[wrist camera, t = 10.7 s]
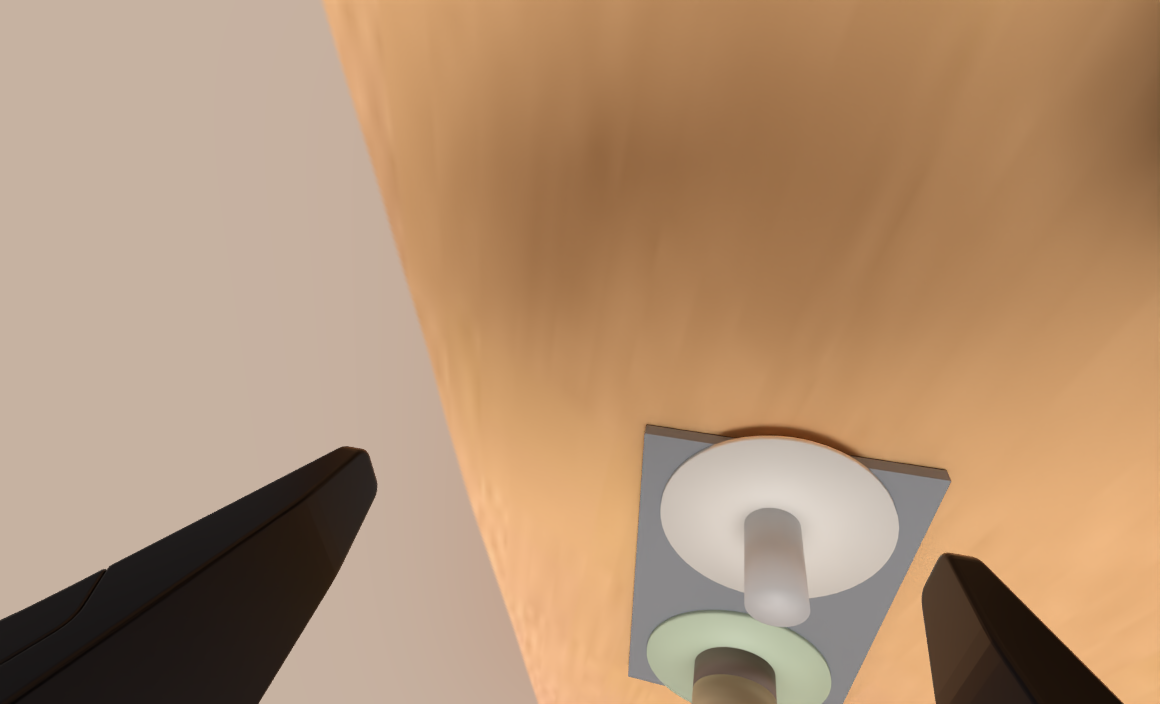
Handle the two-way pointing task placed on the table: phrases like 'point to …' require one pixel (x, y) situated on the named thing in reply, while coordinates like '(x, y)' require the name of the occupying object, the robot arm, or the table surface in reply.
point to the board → (826, 612)
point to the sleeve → (732, 678)
